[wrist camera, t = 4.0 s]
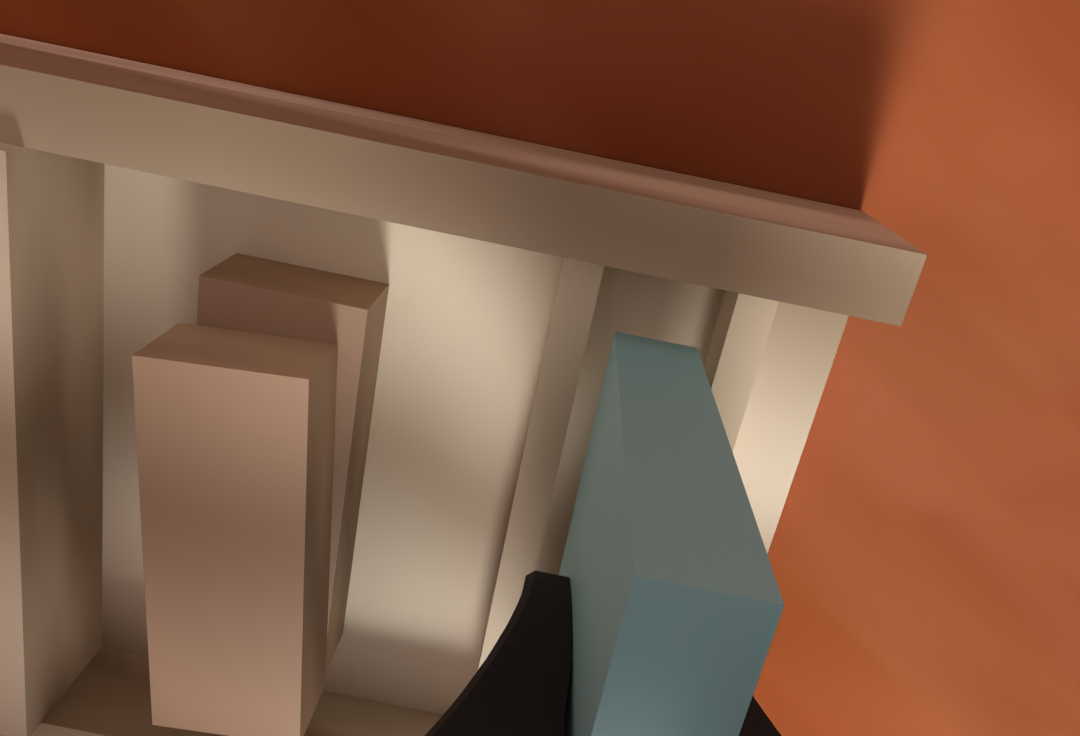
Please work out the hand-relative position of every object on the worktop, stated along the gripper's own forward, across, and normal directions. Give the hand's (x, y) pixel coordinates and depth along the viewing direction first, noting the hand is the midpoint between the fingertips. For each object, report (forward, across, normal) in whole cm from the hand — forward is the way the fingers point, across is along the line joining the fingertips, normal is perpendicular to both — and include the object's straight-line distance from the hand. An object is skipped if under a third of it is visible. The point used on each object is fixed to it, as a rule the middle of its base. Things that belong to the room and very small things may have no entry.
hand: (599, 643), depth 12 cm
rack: (+4, +5, 0) cm, 7 cm away
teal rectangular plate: (+2, 0, 0) cm, 2 cm away
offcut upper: (+2, +6, 0) cm, 6 cm away
